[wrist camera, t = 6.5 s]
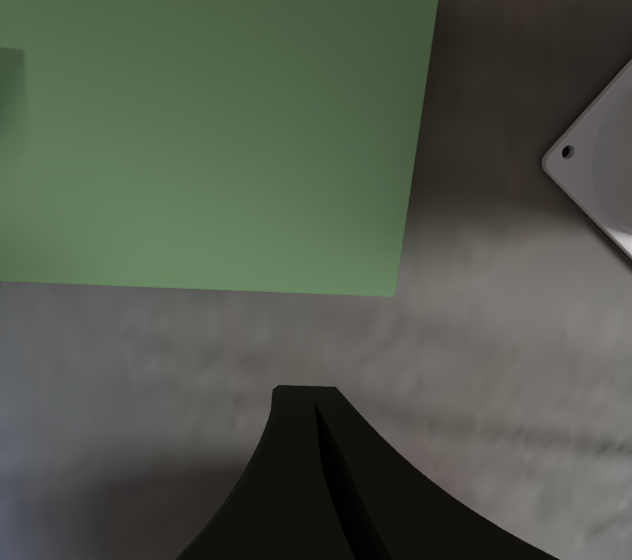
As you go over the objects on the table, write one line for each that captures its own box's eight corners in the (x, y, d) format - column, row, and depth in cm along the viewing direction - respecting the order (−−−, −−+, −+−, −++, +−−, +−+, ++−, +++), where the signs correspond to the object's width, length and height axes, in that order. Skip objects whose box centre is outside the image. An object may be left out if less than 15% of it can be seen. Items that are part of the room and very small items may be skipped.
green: (428, -62, 18) (449, -80, 16) (381, 278, 22) (394, 296, 20) (-432, -183, 14) (-534, -224, 12) (-303, 248, 18) (-366, 266, 16)
